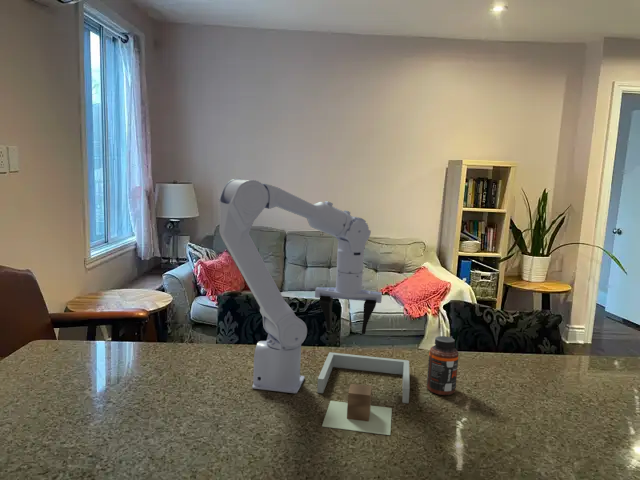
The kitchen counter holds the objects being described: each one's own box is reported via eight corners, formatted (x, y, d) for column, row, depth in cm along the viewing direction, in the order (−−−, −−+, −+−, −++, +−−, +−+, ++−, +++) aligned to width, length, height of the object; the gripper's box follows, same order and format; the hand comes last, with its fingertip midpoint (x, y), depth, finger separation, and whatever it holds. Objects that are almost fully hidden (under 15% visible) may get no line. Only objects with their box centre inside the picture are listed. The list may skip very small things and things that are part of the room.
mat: (321, 426, 86) (321, 426, 86) (330, 401, 96) (330, 400, 96) (390, 435, 84) (390, 434, 84) (391, 408, 94) (391, 408, 94)
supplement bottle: (456, 398, 100) (460, 345, 98) (426, 394, 101) (430, 342, 99) (454, 386, 105) (458, 335, 104) (426, 382, 107) (430, 332, 105)
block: (346, 418, 89) (348, 392, 88) (349, 408, 93) (350, 383, 92) (368, 421, 88) (370, 395, 88) (370, 411, 92) (371, 386, 92)
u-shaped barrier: (317, 392, 99) (317, 378, 99) (328, 364, 114) (329, 352, 114) (408, 403, 96) (409, 389, 96) (408, 373, 111) (409, 360, 111)
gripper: (383, 270, 109) (380, 328, 111) (320, 265, 111) (317, 322, 113) (382, 276, 102) (378, 338, 104) (314, 271, 104) (311, 332, 106)
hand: (346, 331), depth 108 cm, fingers open, 7 cm apart
